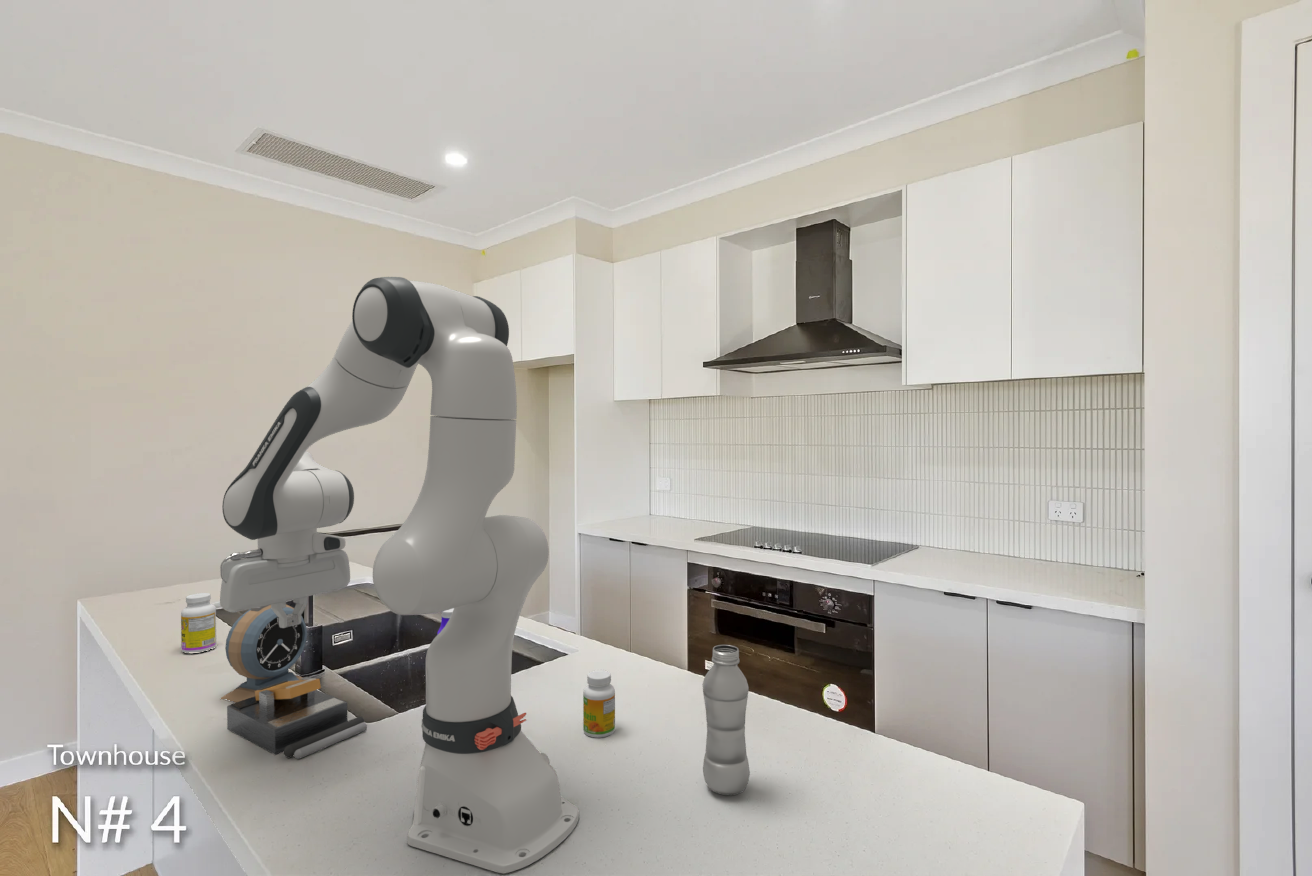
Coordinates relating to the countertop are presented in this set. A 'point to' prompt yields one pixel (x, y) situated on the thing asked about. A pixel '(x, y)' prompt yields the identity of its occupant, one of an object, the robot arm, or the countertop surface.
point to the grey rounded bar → (325, 738)
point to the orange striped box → (291, 688)
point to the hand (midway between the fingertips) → (290, 625)
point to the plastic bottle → (725, 723)
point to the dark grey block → (284, 718)
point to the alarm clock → (263, 650)
